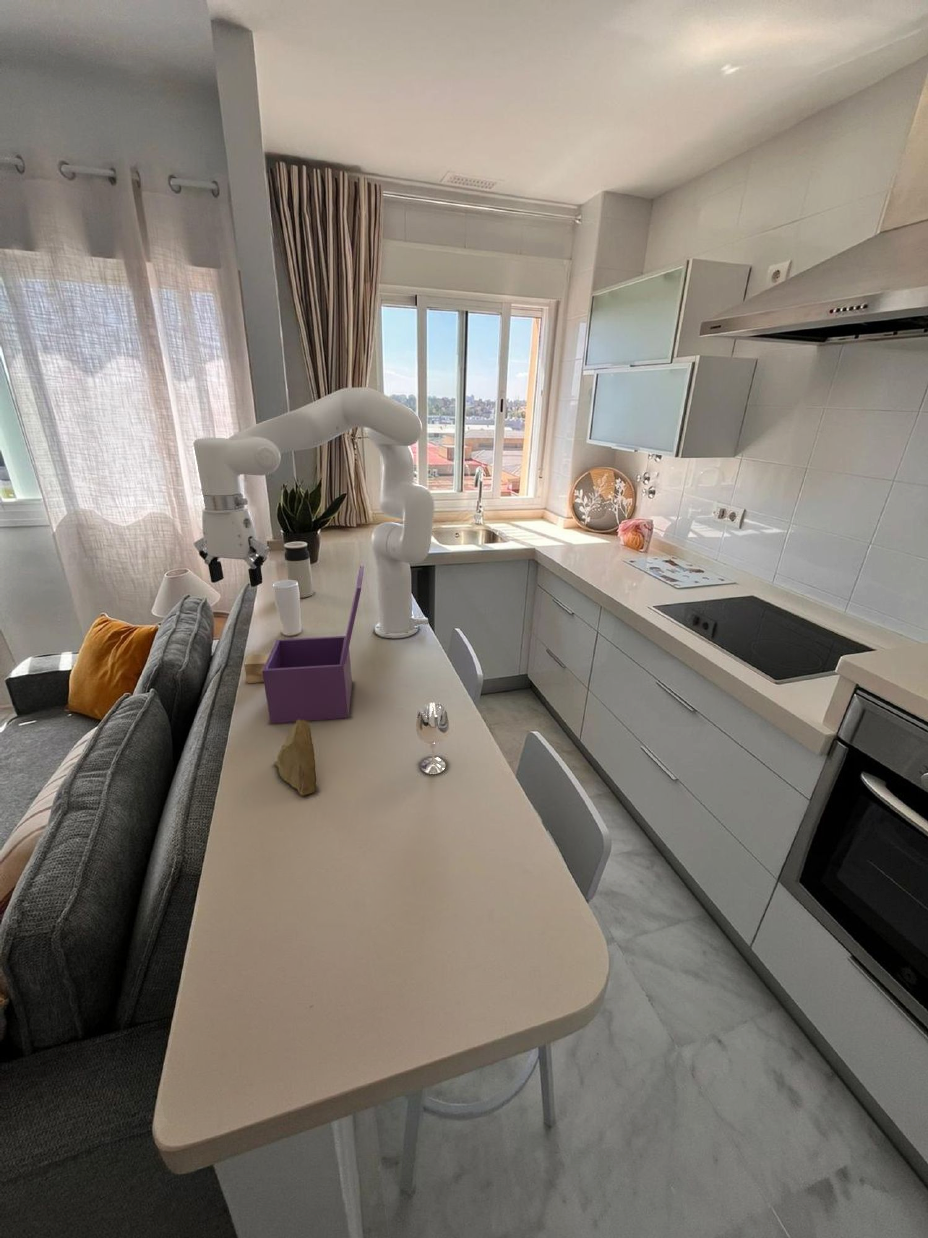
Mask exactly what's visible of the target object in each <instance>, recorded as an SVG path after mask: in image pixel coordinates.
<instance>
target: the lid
mask: <svg viewBox="0 0 928 1238" xmlns="http://www.w3.org/2000/svg"><path fill="white" fill-rule="evenodd" d="M364 570H365V566H363V565H359V569H358V575H357V580H356V585H355V588H354V589H355V590H354V594H353V599H352V603H351V608H350V614H349V618H348V623H347V627H346V632H345V636H346V638H345V644H344V650H343V656H342V662H341V664H345V663H346V659H347V654H348V649H349V650H350V644H351V641H352V635H353V630H354V625H355V620H356V616H357V611H358V608H359V607H358V606H359V601H360V597H361V592H362V587H363V578H364Z"/></svg>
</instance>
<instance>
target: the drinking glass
mask: <svg viewBox="0 0 928 1238" xmlns="http://www.w3.org/2000/svg"><path fill="white" fill-rule="evenodd" d="M272 590H273V598H274V602H275V607H276V610H277V614H278V615H277V616H278V619H279V624H280V626H281V627H280V628H281V632H282V633H281V634H283V635H284V636H288V637H289V636H290V637H291V636H296V635H299V634H300V633H301V632H302V621H301V620H302V619H301V598H300V594H299V587H298V582H297V581H294V580H288V579H282V580H278V581H275V582H274V583H272Z"/></svg>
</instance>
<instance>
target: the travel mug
mask: <svg viewBox="0 0 928 1238" xmlns="http://www.w3.org/2000/svg"><path fill="white" fill-rule="evenodd" d="M283 547H284V549H285V551H284V554H283V555H284V563H285V569H286V578H287V580H294V581H297V582H298V587H299V594H300V599H304V598H308V597H311V596H312V595H313V594H314V585H313V584H314V583H313V575H312V568H311V559H310V551H308V548H307V547H308V543H307V542H305V541H289V542H286V543H284V544H283Z"/></svg>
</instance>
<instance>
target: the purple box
mask: <svg viewBox="0 0 928 1238" xmlns="http://www.w3.org/2000/svg"><path fill="white" fill-rule="evenodd" d="M345 638H346V635H341V636H337V635H336V636H320V637H302V638H301V637H300V638H299V637H298V638H283V639H282V638H281V639H276V640H275V642H274V644H273V646H272V648H271V650H270V653H269V654H270V655H269V657H268V659H267V661H266V663H265V666H264V668H263V670H262V674H263V680H264V682H263V687H264V691H265V698H266V704H267V709H268V716H269V721H270V722H269V723H270V724H271V725H273V724H282V723H283V724H284V723H285V724H287V723H296V721H297V720H298V719H301V720H305V721H307V722H312V721H324V720H336V719H337V720H338V719H339V720H340V719H348V718H349V716H350V715H349V714H350V707H351V696H352V687H353V677H352V666H351V655H350V648H349V649H348V654H347V659H346V663H345V664H341V662H342V656H343V650H344V644H345Z"/></svg>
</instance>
